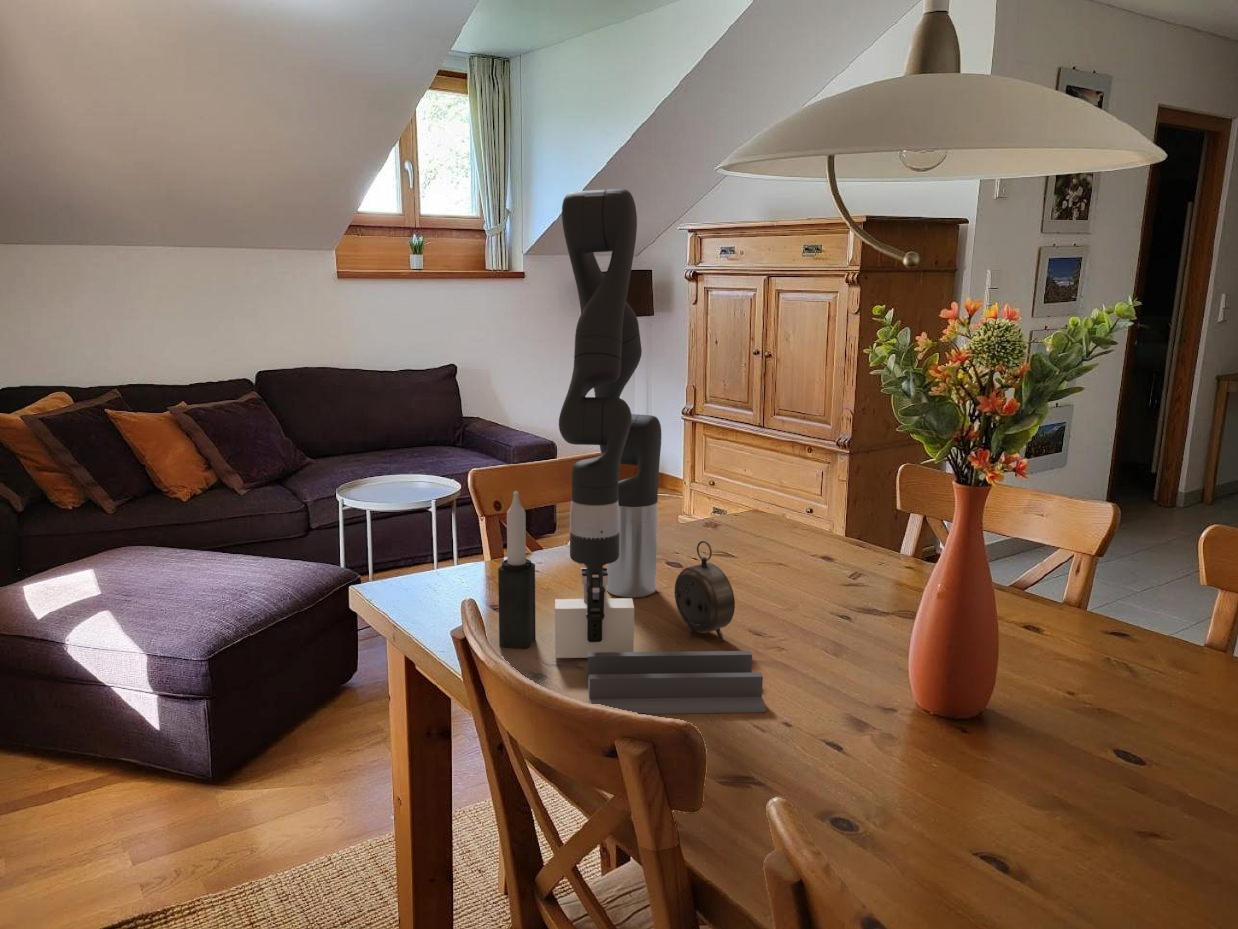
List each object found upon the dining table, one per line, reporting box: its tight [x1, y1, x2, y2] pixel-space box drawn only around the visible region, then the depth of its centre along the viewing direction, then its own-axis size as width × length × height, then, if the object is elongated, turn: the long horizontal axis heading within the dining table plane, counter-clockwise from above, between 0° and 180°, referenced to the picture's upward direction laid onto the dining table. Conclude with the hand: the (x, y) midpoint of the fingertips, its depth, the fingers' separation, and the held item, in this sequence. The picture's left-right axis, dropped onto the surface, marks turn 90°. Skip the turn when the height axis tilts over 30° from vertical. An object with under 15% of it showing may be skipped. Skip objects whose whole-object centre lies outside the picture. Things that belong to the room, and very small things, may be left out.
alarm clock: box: [674, 540, 736, 643], centre depth 150 cm, size 11×5×16 cm, turn 35°
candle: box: [497, 490, 536, 650], centre depth 146 cm, size 5×5×25 cm
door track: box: [587, 650, 767, 715], centre depth 132 cm, size 14×24×4 cm, turn 93°
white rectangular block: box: [554, 597, 635, 659], centre depth 142 cm, size 4×12×8 cm, turn 93°
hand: (594, 634), depth 142 cm, fingers closed on white rectangular block, 4 cm apart
